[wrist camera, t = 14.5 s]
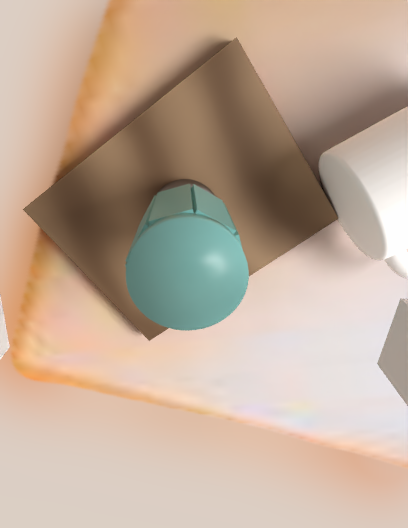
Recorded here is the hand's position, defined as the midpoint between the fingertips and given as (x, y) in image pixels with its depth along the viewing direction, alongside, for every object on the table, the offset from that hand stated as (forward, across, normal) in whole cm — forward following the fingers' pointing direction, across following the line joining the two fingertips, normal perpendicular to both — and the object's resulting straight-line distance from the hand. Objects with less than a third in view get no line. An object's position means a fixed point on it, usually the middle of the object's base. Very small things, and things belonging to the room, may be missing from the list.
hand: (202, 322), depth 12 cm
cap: (+11, -1, 0) cm, 11 cm away
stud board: (+16, -1, -1) cm, 16 cm away
